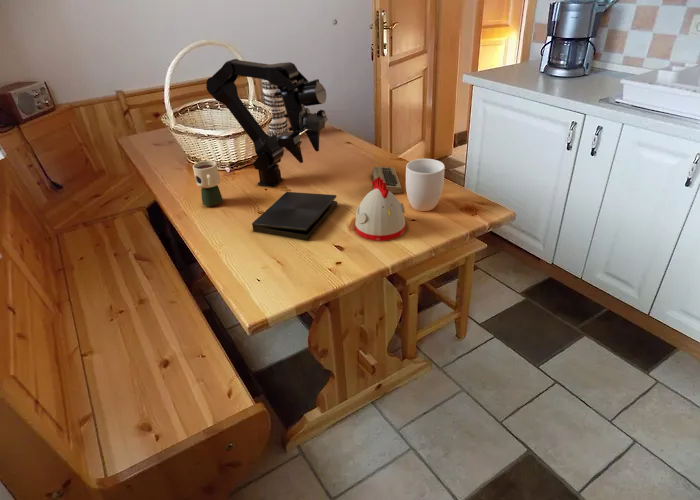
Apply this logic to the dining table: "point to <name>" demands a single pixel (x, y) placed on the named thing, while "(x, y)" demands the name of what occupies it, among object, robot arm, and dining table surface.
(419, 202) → the mug
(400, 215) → the kitchen timer
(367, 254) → the dining table surface
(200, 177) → the character mug
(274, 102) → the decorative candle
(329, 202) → the laptop screen
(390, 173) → the computer
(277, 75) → the robot arm
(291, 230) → the laptop
